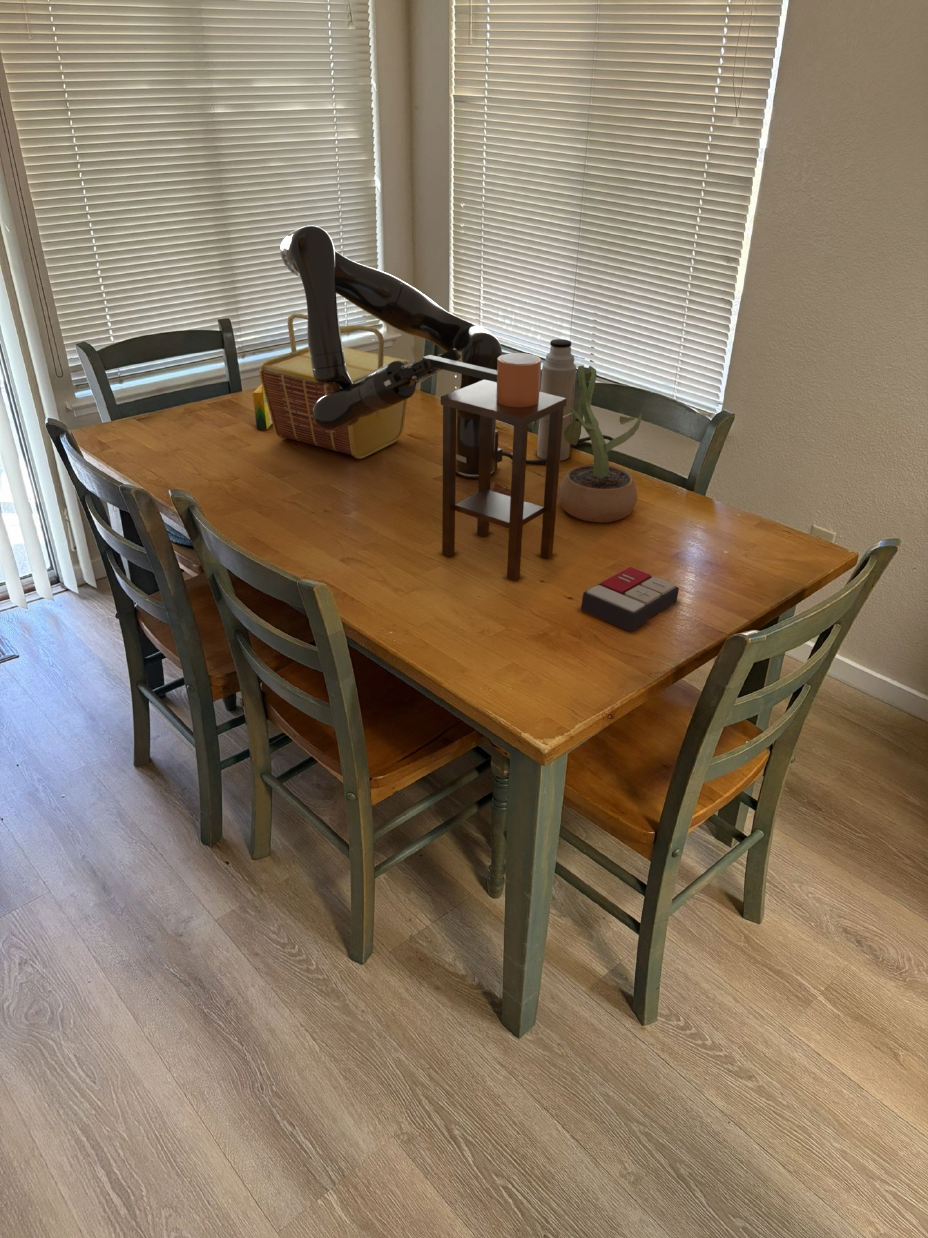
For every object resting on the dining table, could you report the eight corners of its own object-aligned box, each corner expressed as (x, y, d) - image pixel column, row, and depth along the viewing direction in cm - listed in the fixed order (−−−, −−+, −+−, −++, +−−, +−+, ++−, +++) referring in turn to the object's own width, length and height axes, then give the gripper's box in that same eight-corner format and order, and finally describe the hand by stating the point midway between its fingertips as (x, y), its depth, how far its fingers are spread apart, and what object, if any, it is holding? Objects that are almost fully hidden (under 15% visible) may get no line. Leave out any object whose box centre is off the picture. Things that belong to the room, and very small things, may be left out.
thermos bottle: (570, 450, 234) (580, 337, 219) (567, 462, 227) (576, 346, 212) (539, 447, 235) (546, 335, 220) (534, 459, 228) (541, 344, 214)
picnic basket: (416, 437, 240) (415, 318, 224) (354, 469, 221) (348, 341, 205) (328, 415, 253) (321, 301, 237) (262, 443, 234) (250, 321, 219)
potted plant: (653, 508, 205) (671, 372, 189) (604, 533, 194) (619, 391, 178) (572, 478, 218) (583, 350, 203) (522, 500, 207) (529, 366, 191)
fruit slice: (481, 504, 205) (481, 482, 203) (505, 497, 209) (506, 476, 206) (503, 517, 200) (504, 496, 197) (528, 510, 203) (529, 489, 200)
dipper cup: (413, 382, 175) (412, 341, 171) (438, 373, 180) (438, 333, 176) (523, 410, 162) (525, 367, 158) (546, 399, 167) (549, 357, 163)
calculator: (680, 583, 168) (635, 610, 158) (676, 604, 171) (631, 632, 161) (629, 563, 175) (582, 588, 165) (626, 584, 177) (579, 610, 167)
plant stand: (439, 554, 185) (440, 396, 168) (481, 530, 194) (486, 378, 177) (514, 582, 175) (523, 418, 159) (554, 555, 185) (566, 398, 168)
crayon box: (265, 419, 249) (260, 376, 243) (275, 420, 249) (271, 377, 243) (255, 429, 243) (251, 384, 237) (266, 429, 243) (262, 385, 237)
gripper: (354, 376, 179) (410, 346, 167) (403, 360, 188) (459, 331, 177) (370, 413, 180) (427, 386, 169) (417, 395, 190) (474, 369, 178)
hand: (443, 358), depth 173 cm, fingers open, 8 cm apart
